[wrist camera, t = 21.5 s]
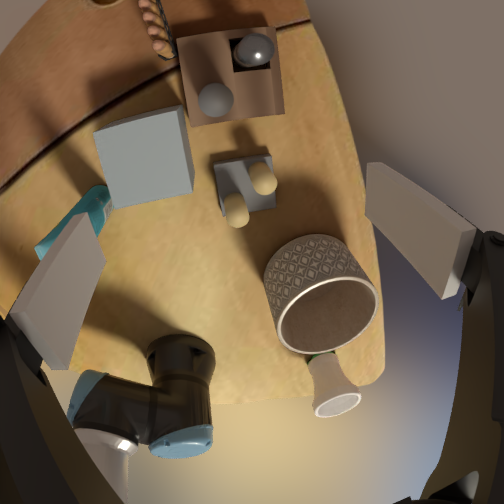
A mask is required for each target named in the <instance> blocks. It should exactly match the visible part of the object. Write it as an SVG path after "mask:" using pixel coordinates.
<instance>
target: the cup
mask: <svg viewBox="0 0 504 504" xmlns="http://www.w3.org/2000/svg"><path fill="white" fill-rule="evenodd" d="M308 368H309V372H310V374H311V375H312V378H313V382H314V400H313V404H312V406H313V409H314V413H315V415H317V416H318V417H332V416H336V415H339V414H342V413H344V412H346V411H349V410H350V409H352V408H353V407H355V406H356V405H357V404H358V403H359V402H360V400H361V394H360V391H359V389H358V388H357V386H356V385H354V384H352V383H351V382H350V381H349V379H348V378H347V377H346V376H345V375H344V373H343V371H342V369H341V367H340V365H339V360H338V357H337V355H336V354H334V353H332V352H331V351H329V352H325V353H323V354H314V355H313V357H312V359H311V361H309V362H308Z"/></svg>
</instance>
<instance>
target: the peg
mask: <svg viewBox="0 0 504 504" xmlns="http://www.w3.org/2000/svg"><path fill="white" fill-rule="evenodd" d="M274 52H275V47H274V43H273V42H272V40H271V39H270V38H269V37H268V36H266V35H264V34H261V33H252V34H249V35H247V36H245V37H244V38H243V39H242V40H241V41H240V42H239V43H238V44H237V45H236V46H235V48H234V49H233V50H232V53H231V58H232V61H233V62H234V63H235V64H236V65H237V66H239V67H242V68H248V67H253V66H257V65H262V64H265V63H267V62H268V61H270V60H271V58H272V57H273V55H274Z"/></svg>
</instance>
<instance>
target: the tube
mask: <svg viewBox="0 0 504 504" xmlns="http://www.w3.org/2000/svg"><path fill="white" fill-rule="evenodd" d="M113 208H114V205H113V202H112V199H111V196H110V192H109V189H108V187H106V186H103V185H96V186H94V187H92V188H91V189H90V190H89V191H88V192H87V193H86V194H85V195H84V196H83V197H82V198H81V200H80V201H79V202H78V203H77V204H76V205H75V206H74V207H73V208H72V209H71V211H70V212H69V213H68V214H67V215H66V216H65V217H64V218H63V219H62V220H61V221H60V222H59V224H58V225H57V226H56V227H55V228H54V229H53V230H52V231H51V232H50V233H49V234H48V235H47V236H46V237H45V238H44V239H43V240H41V241H40V242H39V243H38V244H37V245H36V246H35V247H34V249H35V251H36V253H37V255H38V257H39V259H40V261H41V260H42V258H43V257H44V255H45V254H46V253H47V251H48V250H49V248H50V247H51V245H52V244H53V243H54V241H55V240H56V238H57V237H58V236H59V234H60V233H61V232H62V230H63V229H64V228H65V226H66V225H67V224H68V222H69V221H70V220H71V218H72V217H73V216H74V215H77V214H81V213H85V212H87V213H88V216H89V218H90V221H91V224H92V227H93V229H94V232H95V234H96V237H98V235H99V233H100V231H101V229H102V228H103V226H104V224H105V222H106V220H107V219H108V217H109V215H110V213H111V212H112V210H113Z"/></svg>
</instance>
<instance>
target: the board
mask: <svg viewBox="0 0 504 504" xmlns="http://www.w3.org/2000/svg"><path fill="white" fill-rule="evenodd" d="M213 163H214V170H215V175H216V181H217V187H218V193H219V198H220V204H221V209H222V215H223V217H224V216H226V220H227V223H228V224H229V225H230V226H232V227H235V228H240V227H243V226H244V225H246V224H247V223H248V221H249V213H248V212H253V211H259V210H265V209H271V208H276V197H275V189H276V187H277V179H276V178H275V176H274V174H273V164H272V156H271V155H270V153H269V154H262V155H255V156H248V157H241V158H235V159H229V160H223V161H217V162H213Z"/></svg>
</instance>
